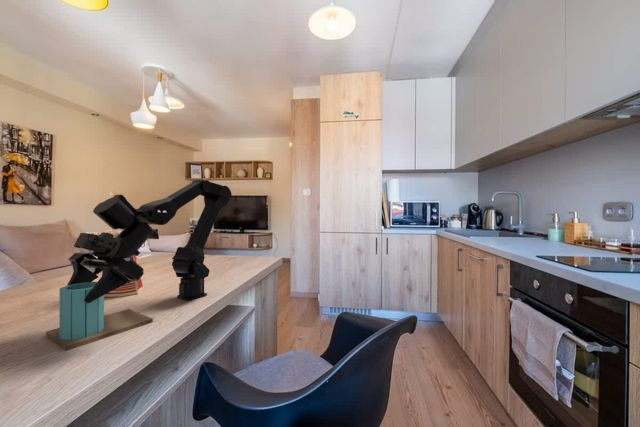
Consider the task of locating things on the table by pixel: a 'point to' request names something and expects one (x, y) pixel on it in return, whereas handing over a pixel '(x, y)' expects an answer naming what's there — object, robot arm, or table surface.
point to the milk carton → (127, 286)
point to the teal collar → (79, 312)
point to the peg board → (105, 328)
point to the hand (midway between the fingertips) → (74, 299)
